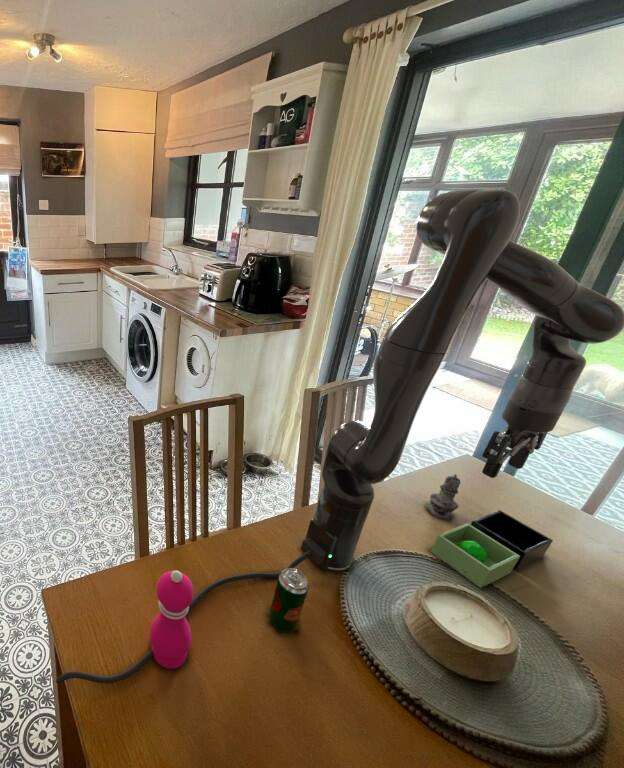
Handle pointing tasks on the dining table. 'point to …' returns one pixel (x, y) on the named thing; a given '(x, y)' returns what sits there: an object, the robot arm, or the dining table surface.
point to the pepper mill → (172, 620)
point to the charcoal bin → (514, 536)
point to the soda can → (288, 600)
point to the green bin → (479, 573)
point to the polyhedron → (474, 550)
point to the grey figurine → (445, 498)
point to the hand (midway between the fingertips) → (501, 470)
